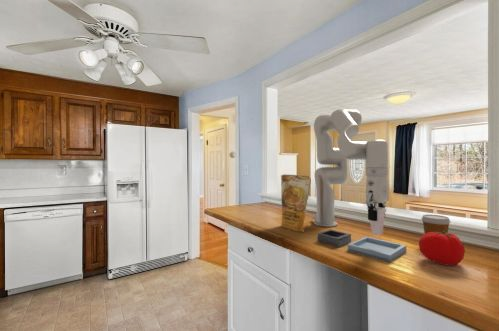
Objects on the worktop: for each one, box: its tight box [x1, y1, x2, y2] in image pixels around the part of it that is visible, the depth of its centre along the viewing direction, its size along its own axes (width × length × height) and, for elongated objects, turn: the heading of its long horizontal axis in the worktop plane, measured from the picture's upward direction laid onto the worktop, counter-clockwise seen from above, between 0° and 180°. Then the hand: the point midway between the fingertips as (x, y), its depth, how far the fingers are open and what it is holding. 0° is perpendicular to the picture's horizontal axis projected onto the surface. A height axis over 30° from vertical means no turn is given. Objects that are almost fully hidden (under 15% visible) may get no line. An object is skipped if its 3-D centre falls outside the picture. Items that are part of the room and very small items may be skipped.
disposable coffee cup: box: [420, 214, 452, 234], centre depth 102 cm, size 10×10×12 cm
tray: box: [347, 236, 407, 263], centre depth 96 cm, size 15×15×2 cm
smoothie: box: [369, 207, 387, 236], centre depth 96 cm, size 6×6×14 cm
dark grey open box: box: [316, 228, 352, 248], centre depth 108 cm, size 10×10×4 cm
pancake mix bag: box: [280, 174, 312, 233], centre depth 131 cm, size 7×19×28 cm, turn 35°
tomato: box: [418, 231, 466, 266], centre depth 86 cm, size 13×12×11 cm
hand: (376, 218), depth 96 cm, fingers closed on smoothie, 6 cm apart
